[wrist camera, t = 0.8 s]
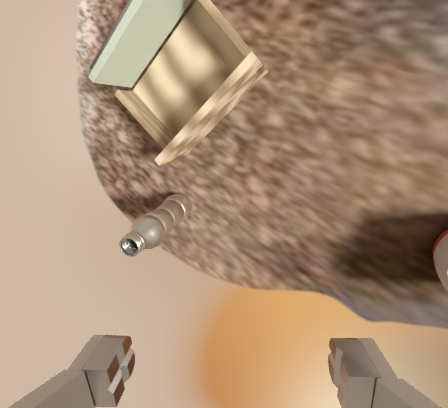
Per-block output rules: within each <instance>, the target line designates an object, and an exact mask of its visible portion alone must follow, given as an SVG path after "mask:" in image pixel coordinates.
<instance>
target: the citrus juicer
mask: <svg viewBox="0 0 448 408" xmlns="http://www.w3.org/2000/svg"><path fill="white" fill-rule="evenodd" d="M433 262H434V266H435V268H436V272H437V274H438V276H439V278H440V281H441V282H442V284H443V286H444V288H445V289H446V291H447V292H448V229H447V230H445V231H444V232H443V233H442V234H441V235H440V236H439V237H438V238H437V240H436V241H435V244H434V247H433Z"/></svg>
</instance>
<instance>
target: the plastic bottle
mask: <svg viewBox="0 0 448 408" xmlns="http://www.w3.org/2000/svg"><path fill="white" fill-rule="evenodd" d="M190 212H191V203H190V201H189V199H188V198H187V197H185V196H184V195H181V194H173V195H170V196H168V197H167V198H166V199H165V200H164V201H163V202H162V204H161V205H160V206H159V207H157V208H156V209H154V210H153V211H151V212H149V213H147V214H144V215H142V216H140V217H138V218H136V219H135V220H134V221H133V223H132V225H131V227H130V231H129V233H128V234H126V236H125V237H123V238H122V239H121V240H120V243H119V246H120V249H121V251H122V252H123V253H124V254H125V255H127V256H136V255H137V254H138V253H140V252H141V251H143V250H144V249H152V248H154V247H157V246H159V245H160V244H161V243H162V242H163V240H164V239H165V237H166V236H167V234H168V233H169V232H170V231H171V229H172V228H173V227H174V226H176V225H177V224H178V223H180V222H182V221H184V220H185V219H187V218H188V216H189V214H190Z"/></svg>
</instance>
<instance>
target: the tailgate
mask: <svg viewBox="0 0 448 408" xmlns="http://www.w3.org/2000/svg"><path fill="white" fill-rule="evenodd" d="M191 1H192V0H128V2H127V4H126V6H125V7H124V9H123V11H122V12H121V14H120V16H119V18H118V19H117V21H116V23H115V25H114V26H113V28H112V30H111V32H110V33H109V35H108V37H107V39H106V40H105V42H104V44H103V45H102V47H101V49H100V51H99V52H98V54H97V56H96V58H95V59H94V61H93V63H92V65H91V66H90V69H91V70H92V71H91V73H90V74H89V76H88V77H89V79H90V80H91V81H92V82H93V83H99V84H107V85H114V86H122V87H130V88H131V87H132V86H133V85H134V83H135V82H136V80H137V79H138V77H139V76H140V75H141V73H142V72H143V70H144V69H145V67H146V66H147V64H148V63H149V62H150V60H151V59H152V57H153V56H154V54H155V53H156V52H157V50H158V49H159V47H160V46H161V44H162V43H163V41H164V40H165V39H166V37H167V36H168V34H169V33H170V31H171V30H172V29H173V27H174V26H175V24H176V23H177V21H178V20H179V18H180V17H181V16H182V14H183V13H184V11H185V10H186V8H187V7H188V6H189V4H190V3H191Z"/></svg>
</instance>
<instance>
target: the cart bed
mask: <svg viewBox="0 0 448 408" xmlns="http://www.w3.org/2000/svg"><path fill="white" fill-rule="evenodd" d="M267 72H268V71H267V70H266V68H265V67H264V66H263V65H262V63H261V62H260V61H259V60H258V58H257V57H256V56H255V55H254V53H253V52H252V51H251V50H250V49H249V47H248V46H247V45H246V44H245V43H244V41H243V40H242V39H241V38H240V36H239V35H238V34H237V33H236V31H235V30H234V29H233V28H232V27H231V25H230V24H229V23H228V22H227V20H226V19H225V18H224V17H223V16H222V14H221V13H220V12H219V11H218V9H217V8H216V7H215V6H214V4H213V3H212V2H211V1H210V0H196V1H195V2H194V4H193V5H192V7H191V8H190V10H189V11H188V12H187V14H186V15H185V17H184V18H183V20H182V21H181V22H180V24H179V25H178V27H177V28H176V29H175V31H174V32H173V34H172V35H171V37H170V38H169V39H168V41H167V42H166V44H165V45H164V47H163V48H162V49H161V51H160V52H159V54H158V55H157V56H156V58H155V59H154V61H153V62H152V64H151V65H150V66H149V68H148V69H147V71H146V72H145V74H144V75H143V76H142V78H141V79H140V81H139V82H138V83H137V85H136V86H135V88H134V89H133V90H132V89H131V88H130V87H128V88H127V90H126V91H125V90H117V92H116V93H115V96H116V97H117V98H118V99H119V101H120V102H121V103H122V104H123V105H124V106H125V107H126V108H127V110H128V111H129V112H130V113H131V114H132V115H133V116H134V117H135V119H136V120H137V121H138V122H139V123H140V124H141V125H142V126H143V128H144V129H145V130H146V131H147V132H148V133H149V134H150V135H151V136H152V138H153V139H154V140H155V141H156V142H157V143H158V144H159V145H160V147H161V148H162V149H163V151H162V152H161V153H160V154H159V155H158V156H157V157H156V159H155V160H154V161H155V162H156V163H157V164H158V165H161V164H164V163H166V162H169V161H171V160H174V159H176V158H179V157H181V156H184V155H186V154H189V153H190V152H191V151H192V149H193V148H194V147H195V146H196V145H197V144H198V143H199V142H200V141H201V140H202V139H203V138H204V137H205V136H206V135H207V134H208V133H209V132H210V131H211V130H212V129H213V128H214V127H215V126H216V125H217V124H218V123H219V122H220V121H221V120H222V119H223V118H224V116H225V115H226V114H227V113H228V112H229V111H230V110H231V109H232V108H233V107H234V106H235V105H236V104H237V103H238V102H239V101H240V100H241V99H242V98H243V97H244V96H245V95H246V94H247V93H248V92H249V91H250V90H251V89H252V88H253V87H254V86H255V84H256V83H257V82H258V81H259V80H260V79H261V78H262V77H263V76H264V75H265V74H266V73H267Z"/></svg>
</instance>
